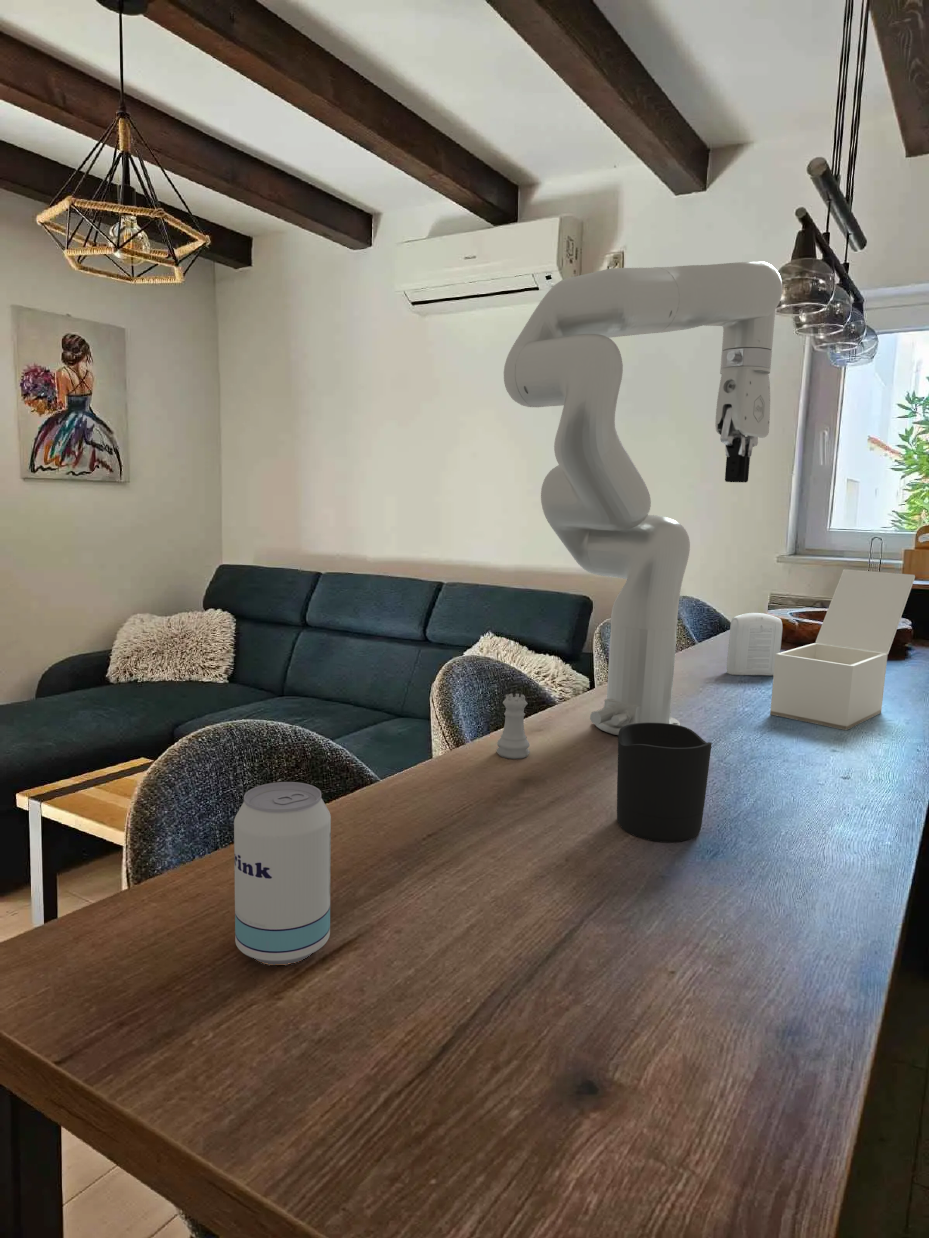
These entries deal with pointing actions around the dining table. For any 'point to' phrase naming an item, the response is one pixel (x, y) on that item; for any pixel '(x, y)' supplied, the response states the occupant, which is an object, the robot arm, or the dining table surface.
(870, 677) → the carton
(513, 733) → the rook chess piece
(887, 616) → the carton lid
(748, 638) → the photo printer
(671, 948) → the dining table surface
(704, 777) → the pen holder
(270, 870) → the beverage can
